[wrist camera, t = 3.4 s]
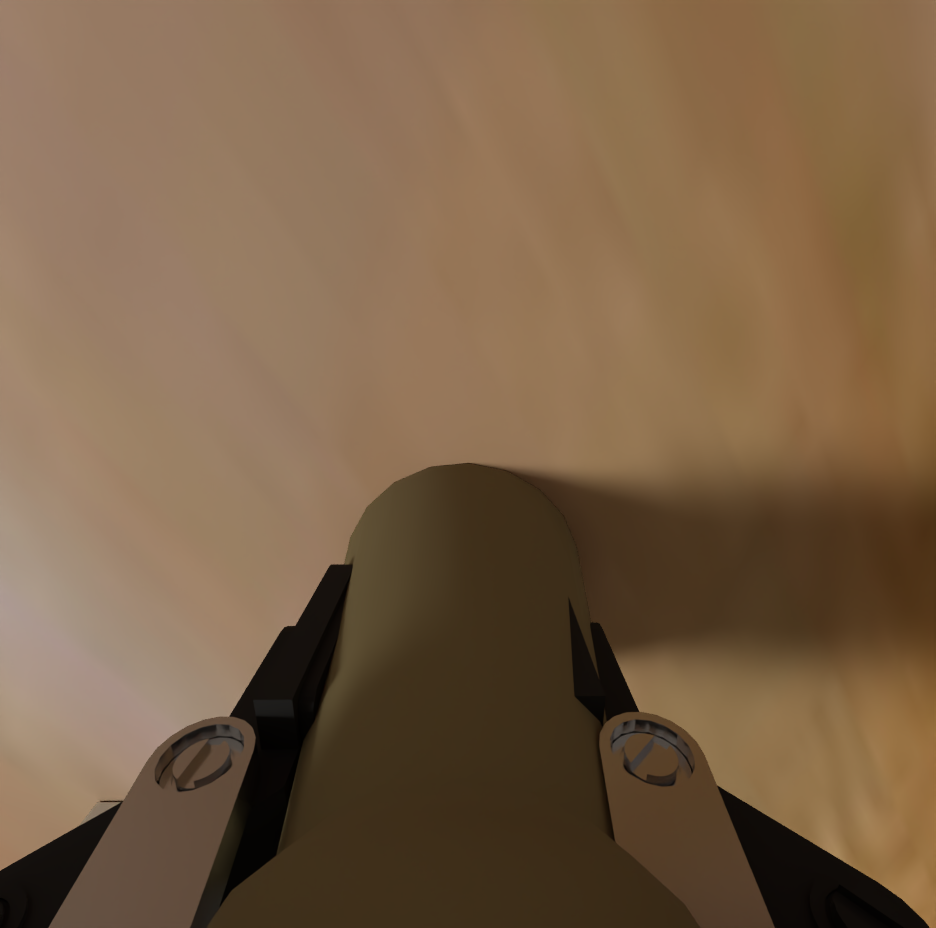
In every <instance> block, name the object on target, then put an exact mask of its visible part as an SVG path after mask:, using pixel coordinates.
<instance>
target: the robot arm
mask: <svg viewBox="0 0 936 928" xmlns="http://www.w3.org/2000/svg"><path fill="white" fill-rule="evenodd" d="M352 569H353V564H344V565H330V566H329V568H328V570H327V571H326V573H325V575H324V577H323V578H322V580H321V582H320V584H319V586H318V587H317V589H316V591H315V593H314V594H313V596H312V598H311V600H310V601H309V603H308V605H307V607H306V608H305V610H304V612H303V614H302V615H301V617H300V619H299V621H298V622H297V624H296V626H287V627H284V629H283V630H282V631H281V632H280V634H279V636H278V637H277V639H276V640H275V642H274V644H273V645H272V647H271V649H270V650H269V652H268V654H267V655H266V657H265V659H264V660H263V662H262V664H261V665H260V667H259V668H258V670H257V672H256V673H255V675H254V677H253V678H252V680H251V682H250V683H249V685H248V687H247V688H246V690H245V692H244V693H243V695H242V696H241V698H240V700H239V701H238V703H237V705H236V706H235V708H234V710H233V711H232V713H231V715H230V716H229V717H215V718H210V719H205V720H202V721H199V722H197V723H194V724H192V725H189V726H187V727H185V728H184V729H182V730H180V731H179V732H177V733H175V734H174V735H172V736H171V737H169V738H168V739H167V740H166V741H165V742H164V743H162V744H161V745H160V746H159V747H158V748H157V749H156V750H155V751H154V753H153V754H152V755H151V757H150V758H149V759H148V761H147V762H146V764H145V765H144V767H143V769H142V770H141V772H140V774H139V775H138V777H137V779H136V781H135V782H134V784H133V786H132V787H131V789H130V791H129V792H128V794H127V796H126V797H125V799H124V801H122V802H121V803H119V804H117V805H115V806H114V807H112V808H110V809H108V810H106V811H105V812H103V813H101V814H99V815H98V816H96V817H94V818H92V819H91V820H89V821H87V822H85V823H84V824H82V825H80V826H78V827H76V828H75V829H73V830H71V831H69V832H68V833H66V834H64V835H62V836H61V837H59V838H57V839H55V840H54V841H52V842H50V843H48V844H46V845H45V846H43V847H41V848H39V849H38V850H36V851H34V852H32V853H31V854H29V855H27V856H25V857H24V858H22V859H20V860H18V861H17V862H15V863H13V864H11V865H9V866H8V867H6V868H4V869H2V870H1V871H0V928H206V927H207V926H208V924H209V923H210V921H211V920H212V918H213V917H214V915H215V914H216V912H217V911H218V910H219V908H220V907H221V905H222V904H223V902H224V901H225V899H226V898H227V896H228V895H229V893H230V892H231V891H232V890H233V889H234V888H235V887H237V886H238V885H239V884H241V883H242V882H243V881H244V880H246V879H247V878H248V877H249V876H251V875H252V874H253V873H255V872H256V871H257V870H258V869H260V868H261V867H262V866H264V865H265V864H266V863H267V862H269V861H270V860H271V859H273V858H274V857H275V856H276V855H277V850H278V846H279V842H280V837H281V833H282V829H283V825H284V820H285V816H286V812H287V807H288V803H289V799H290V794H291V790H292V786H293V782H294V777H295V773H296V769H297V764H298V760H299V756H300V752H301V747H302V743H303V739H304V738H305V736H306V734H307V733H308V731H309V729H310V728H311V726H312V724H313V723H314V720H315V717H316V713H317V710H318V706H319V703H320V699H321V695H322V692H323V688H324V685H325V681H326V678H327V674H328V671H329V667H330V663H331V660H332V656H333V653H334V649H335V646H336V642H337V639H338V635H339V630H340V624H341V618H342V613H343V607H344V601H345V596H346V590H347V586H348V583H349V580H350V576H351V573H352ZM568 600H569V617H570V633H571V650H572V666H573V682H574V696H575V697H576V698H577V699H578V700H579V701H580V702H581V703H582V704H583V705H584V706H585V707H586V708H587V709H588V710H589V711H590V712H591V713H592V714H593V715H594V716H595V717H596V718H597V719H598V720H599V721H600V723H601V725H602V727H603V728H602V730H601V732H600V737H599V754H600V761H601V768H602V774H603V781H604V787H605V794H606V800H607V807H608V813H609V820H610V827H611V833H612V840H613V841H614V842H616V843H617V844H618V845H619V846H620V847H622V848H623V849H624V850H625V851H627V852H628V853H629V854H630V855H631V856H633V857H634V858H635V859H636V860H637V861H638V862H639V863H640V864H641V865H643V866H644V867H645V868H646V869H647V870H648V871H649V872H650V873H651V874H652V875H653V876H655V877H656V878H657V879H658V880H659V881H660V882H661V883H662V884H663V885H664V886H666V887H667V888H668V889H669V890H670V891H671V892H672V893H673V894H674V895H675V896H676V897H678V898H679V899H680V900H681V901H682V902H683V903H684V904H685V905H686V907H687V908H688V910H689V911H690V913H691V914H692V916H693V917H694V919H695V920H696V922H697V923H698V925H699V926H700V928H929V926H928V925H927V924H926V922H925V921H924V920H923V919H922V918H921V917H920V916H919V915H918V914H917V913H916V912H914V911H913V910H912V909H911V908H910V907H909V906H908V905H907V904H906V903H905V902H904V901H903V900H902V899H901V898H899V897H898V896H896V895H895V894H893V893H892V892H891V891H889V890H888V889H886V888H885V887H884V886H882V885H881V884H879V883H878V882H876V881H875V880H873V879H871V878H870V877H868V876H866V875H865V874H863V873H861V872H860V871H858V870H856V869H855V868H853V867H851V866H850V865H848V864H846V863H845V862H843V861H841V860H840V859H838V858H836V857H835V856H833V855H832V854H830V853H828V852H827V851H825V850H823V849H822V848H820V847H818V846H817V845H815V844H813V843H812V842H810V841H808V840H807V839H805V838H803V837H802V836H800V835H798V834H797V833H795V832H793V831H792V830H790V829H788V828H787V827H785V826H783V825H782V824H780V823H778V822H777V821H775V820H773V819H772V818H770V817H768V816H767V815H765V814H763V813H762V812H760V811H758V810H757V809H755V808H753V807H752V806H750V805H748V804H747V803H745V802H743V801H742V800H740V799H738V798H737V797H735V796H734V795H732V794H730V793H729V792H727V791H725V790H724V789H722V788H720V787H719V786H717V784H716V782H715V780H714V777H713V775H712V772H711V770H710V767H709V765H708V762H707V760H706V757H705V755H704V753H703V752H702V750H701V748H700V747H699V745H698V743H697V742H696V741H695V740H694V739H693V738H692V737H691V736H690V735H689V734H688V733H687V732H686V731H685V730H684V729H682V728H681V727H679V726H678V725H676V724H675V723H673V722H672V721H670V720H667V719H665V718H662V717H660V716H657V715H654V714H649V713H644V712H639V710H638V708H637V706H636V704H635V701H634V699H633V697H632V694H631V692H630V690H629V688H628V685H627V683H626V681H625V679H624V676H623V674H622V672H621V670H620V667H619V665H618V663H617V661H616V658H615V656H614V654H613V652H612V649H611V647H610V645H609V643H608V640H607V638H606V636H605V634H604V631H603V629H602V627H601V626H600V624H599V623H590V629H591V635H592V640H593V646H594V652H595V657H596V663H597V669H598V674H599V677H598V675H597V672H596V669H595V667H594V664H593V661H592V659H591V656H590V653H589V651H588V648H587V645H586V642H585V640H584V637H583V634H582V632H581V629H580V626H579V624H578V621H577V618H576V615H575V613H574V610H573V607H572V605H571V602H570V599H569V597H568ZM604 708H605V714H606V720H607V722H606V723H605V724H604V726H603V720H604Z"/></svg>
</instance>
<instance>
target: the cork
mask: <svg viewBox="0 0 936 928" xmlns="http://www.w3.org/2000/svg"><path fill="white" fill-rule="evenodd" d="M344 564H353V569H352V573H351V576H350V580H349V583H348V586H347V590H346V596H345V601H344V607H343V613H342V618H341V624H340V630H339V635H338V639H337V642H336V646H335V649H334V653H333V656H332V660H331V663H330V667H329V671H328V674H327V678H326V681H325V685H324V688H323V692H322V695H321V699H320V703H319V706H318V710H317V713H316V717H315V720H314V723H313V724H312V726H311V728H310V729H309V731H308V733H307V734H306V736H305V738H304V739H303V743H302V747H301V752H300V756H299V760H298V764H297V769H296V773H295V777H294V782H293V786H292V790H291V794H290V799H289V803H288V807H287V812H286V816H285V820H284V825H283V829H282V833H281V837H280V842H279V846H278V850H277V855H276V856H275V857H274V858H273V859H271V860H270V861H269V862H267V863H266V864H265V865H264V866H262V867H261V868H260V869H258V870H257V871H256V872H255V873H253V874H252V875H251V876H249V877H248V878H247V879H246V880H244V881H243V882H242V883H241V884H239V885H238V886H237V887H235V888H234V889H233V890H232V891H231V892H230V893H229V895H228V896H227V898H226V899H225V901H224V902H223V904H222V905H221V907H220V908H219V910H218V911H217V912H216V914H215V915H214V917H213V918H212V920H211V921H210V923H209V924H208V926H207V927H206V928H700V926H699V925H698V923H697V922H696V920H695V919H694V917H693V916H692V914H691V913H690V911H689V910H688V908H687V907H686V905H685V904H684V903H683V902H682V901H681V900H680V899H679V898H678V897H676V896H675V895H674V894H673V893H672V892H671V891H670V890H669V889H668V888H667V887H666V886H664V885H663V884H662V883H661V882H660V881H659V880H658V879H657V878H656V877H655V876H653V875H652V874H651V873H650V872H649V871H648V870H647V869H646V868H645V867H644V866H643V865H641V864H640V863H639V862H638V861H637V860H636V859H635V858H634V857H633V856H631V855H630V854H629V853H628V852H627V851H625V850H624V849H623V848H622V847H620V846H619V845H618V844H617V843H616V842H614V841H613V840H612V833H611V827H610V820H609V813H608V807H607V800H606V794H605V787H604V781H603V774H602V768H601V761H600V754H599V737H600V732H601V730H602V728H603V727H602V725H601V723H600V721H599V720H598V719H597V718H596V717H595V716H594V715H593V714H592V713H591V712H590V711H589V710H588V709H587V708H586V707H585V706H584V705H583V704H582V703H581V702H580V701H579V700H578V699H577V698H576V697H575V696H574V682H573V666H572V650H571V633H570V617H569V600H568V597H569V599H570V602H571V605H572V607H573V610H574V613H575V615H576V618H577V621H578V624H579V626H580V629H581V632H582V634H583V637H584V640H585V642H586V645H587V648H588V651H589V653H590V656H591V659H592V661H593V664H594V667H595V669H596V672H597V675H598V677H599V674H598V669H597V663H596V657H595V652H594V646H593V640H592V635H591V629H590V623H591V619H590V614H589V609H588V603H587V598H586V593H585V588H584V583H583V577H582V572H581V567H580V562H579V557H578V551H577V547H576V545H575V542H574V540H573V537H572V535H571V533H570V530H569V528H568V526H567V523H566V521H565V518H564V516H563V515H562V514H561V513H560V512H559V510H558V509H557V508H556V507H555V506H554V505H553V504H552V503H551V502H550V501H549V500H548V498H547V497H546V496H545V495H544V494H543V493H542V492H541V491H540V490H539V489H538V488H536V487H534V486H532V485H531V484H529V483H527V482H525V481H523V480H522V479H520V478H518V477H516V476H515V475H513V474H511V473H509V472H507V471H504V470H499V469H494V468H490V467H485V466H480V465H475V464H470V463H465V464H455V465H446V466H436V467H429V468H426V469H424V470H422V471H420V472H417V473H415V474H413V475H410V476H408V477H406V478H403V479H401V480H399V481H396V482H394V483H393V484H392V485H391V486H390V487H389V488H388V489H387V490H385V491H384V492H383V493H382V494H381V495H380V496H379V497H378V498H376V499H375V500H374V501H373V502H372V503H371V504H370V505H369V506H368V507H367V508H366V510H365V512H364V514H363V515H362V517H361V519H360V521H359V523H358V524H357V526H356V528H355V530H354V532H353V533H352V535H351V537H350V541H349V546H348V550H347V554H346V559H345V563H344ZM606 722H607V720H606V714H605V708H604V720H603V726H604V724H605V723H606Z"/></svg>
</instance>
